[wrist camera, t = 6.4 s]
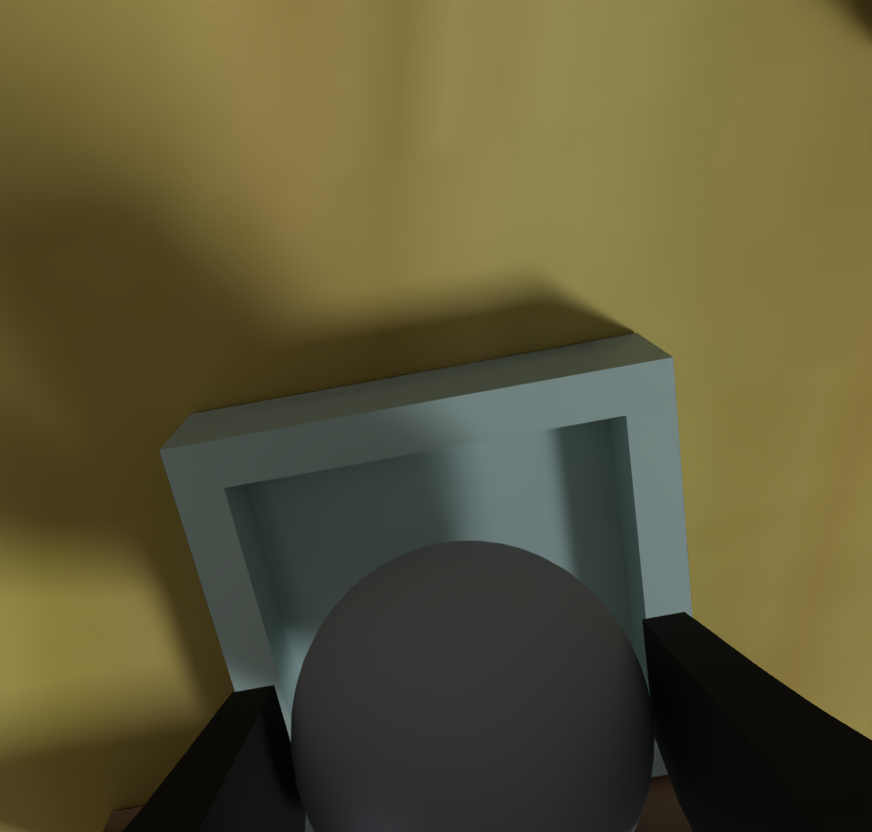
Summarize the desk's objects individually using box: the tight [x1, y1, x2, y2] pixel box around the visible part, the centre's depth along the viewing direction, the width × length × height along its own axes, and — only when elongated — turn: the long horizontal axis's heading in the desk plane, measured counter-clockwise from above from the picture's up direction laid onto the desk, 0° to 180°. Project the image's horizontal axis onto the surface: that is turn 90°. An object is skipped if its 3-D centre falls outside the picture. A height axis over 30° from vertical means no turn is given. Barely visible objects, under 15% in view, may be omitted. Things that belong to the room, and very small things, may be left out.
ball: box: [291, 541, 654, 832], centre depth 11 cm, size 5×5×5 cm
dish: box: [159, 333, 692, 832], centre depth 14 cm, size 8×8×2 cm
